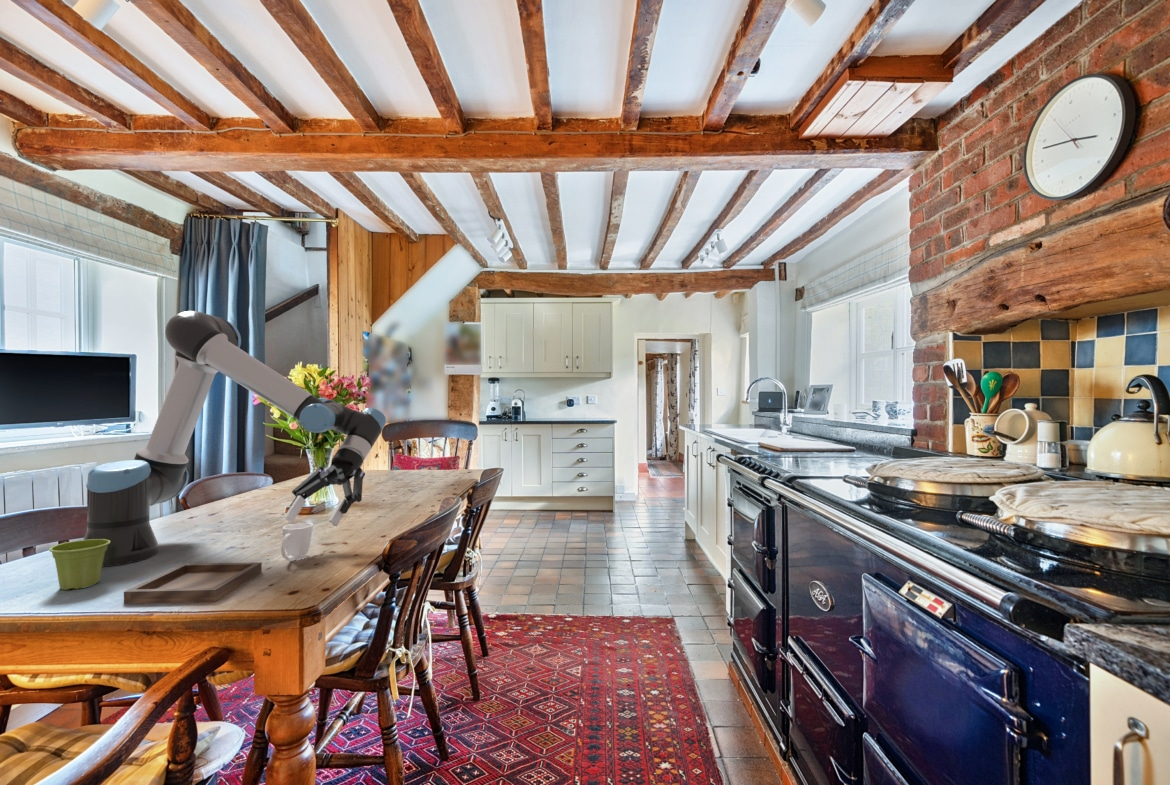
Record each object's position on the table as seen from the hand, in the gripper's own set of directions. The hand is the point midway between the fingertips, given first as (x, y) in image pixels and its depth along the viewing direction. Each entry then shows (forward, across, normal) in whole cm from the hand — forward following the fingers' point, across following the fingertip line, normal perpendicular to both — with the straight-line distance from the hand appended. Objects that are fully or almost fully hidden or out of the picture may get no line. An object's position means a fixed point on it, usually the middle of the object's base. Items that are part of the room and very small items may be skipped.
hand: (310, 521), depth 134 cm
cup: (+9, +1, -4) cm, 10 cm away
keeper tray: (+23, +6, +11) cm, 26 cm away
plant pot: (+28, +31, +16) cm, 44 cm away
